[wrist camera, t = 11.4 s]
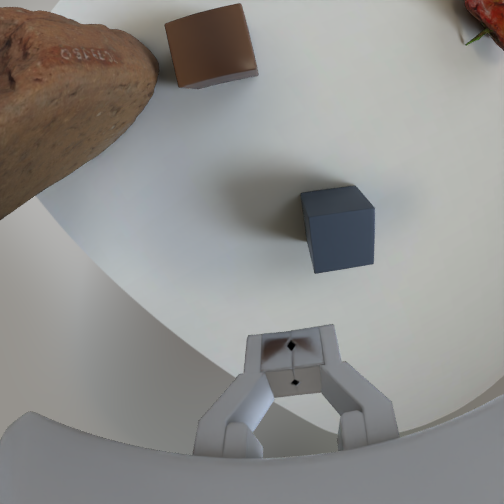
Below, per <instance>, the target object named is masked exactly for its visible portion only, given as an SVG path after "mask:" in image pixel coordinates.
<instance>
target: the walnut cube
mask: <svg viewBox="0 0 504 504" xmlns="http://www.w3.org/2000/svg"><path fill="white" fill-rule="evenodd" d="M165 29H166V34H167V39H168V43H169V48H170V52H171V57H172V61H173V65H174V70H175V74H176V78H177V82H178V87H179V88H191V89H200V88H204V87H208V86H212V85H216V84H220V83H224V82H229V81H233V80H238V79H243V78H249V77H254V76H258V75H259V74H258V69H257V65H256V60H255V56H254V52H253V47H252V43H251V39H250V35H249V31H248V26H247V22H246V19H245V15H244V12H243V8H242V5H241V3H239V4H234V5H229V6H224V7H220V8H216V9H212V10H208V11H204V12H200V13H197V14H193V15H190V16H186V17H183V18H180V19H177V20H174V21H171V22H168V23H166V24H165Z"/></svg>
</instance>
